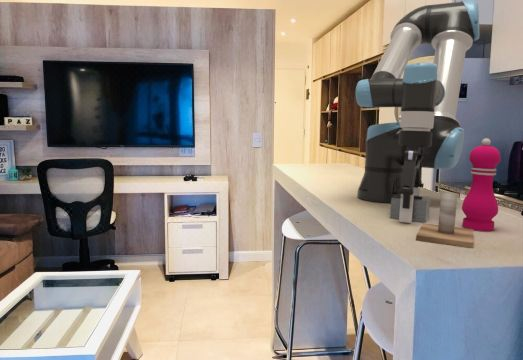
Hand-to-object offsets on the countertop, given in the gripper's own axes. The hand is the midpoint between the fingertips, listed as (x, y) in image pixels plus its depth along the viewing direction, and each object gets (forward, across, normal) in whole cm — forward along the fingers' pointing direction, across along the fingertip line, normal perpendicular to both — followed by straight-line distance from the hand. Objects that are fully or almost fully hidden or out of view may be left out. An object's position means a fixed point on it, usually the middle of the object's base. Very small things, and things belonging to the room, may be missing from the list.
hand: (409, 217), depth 103 cm
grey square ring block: (0, 0, 0) cm, 0 cm away
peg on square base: (0, +16, +9) cm, 18 cm away
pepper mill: (0, +3, +15) cm, 15 cm away
